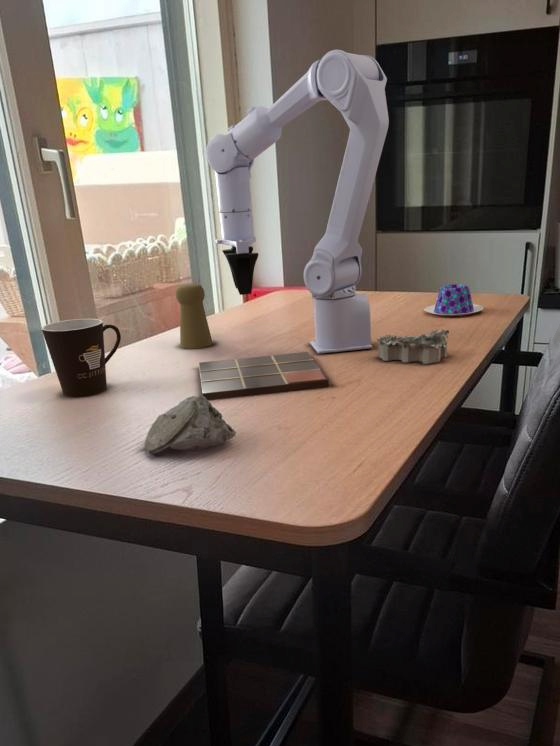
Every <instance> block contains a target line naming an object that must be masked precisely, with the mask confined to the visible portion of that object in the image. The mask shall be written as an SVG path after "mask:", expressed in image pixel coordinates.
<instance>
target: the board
mask: <svg viewBox="0 0 560 746" xmlns="http://www.w3.org/2000/svg"><path fill="white" fill-rule="evenodd" d="M198 367H199V376H200V385H201V392H202V397H205V398H206V399H207V400H208V401H209V400H218V399H219V400H220V399H226V398H227V399H228V398H236V397H246V396H254V395H265V394H273V393H283V392H291V391H301V390H310V389H311V390H312V389H319V388H329V387H330V384H329V379H328V378H327V376H326V375H325V374H324V372H323V371H322V369H321V368H320V367H319V365H318V364H317V363H316V361H315V359H314V358H313V357H312V356H311V355H310V353H309V352H308V351H302V352H291V353H281V354H280V353H279V354H270V355H261V356H252V357H250V356H249V357H242V358H241V357H240V358H236V357H235V358H230V359H222V360H211V361H201V362H198Z"/></svg>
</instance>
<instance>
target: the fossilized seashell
mask: <svg viewBox="0 0 560 746" xmlns="http://www.w3.org/2000/svg"><path fill="white" fill-rule="evenodd" d="M236 434H237V431H236V430H235V429H234V428H233V427H232V426H231V425H230V424H228V423H227V422H226V421H225V419H223V414H222V413H221V412H220V411H219V410H218V409H217V408H216V407H214V405H212V403H211V402H210V401H209V400H207V399H206V398H205V397H203V396H195V395H193V396H188V397H186V398H185V399H183V400H181V401H180V402H178V405H175V406H173V407H172V408H170V409H169V410H167V411H165V412H164V413H162V414H159V415H158V416H157V418H156V419H155V421H154V422H153V423H152V424H151V426H150V428H149V430H148V432H147V435H146V437H145V440H144V448H145V451H147V452H148V453H149V454H151V455H152V454H157V453H159V452H162V451H164V450H166V449H167V448H171V449H173V450H179V451H196V450H203V449H208V448H211V447H216V446H217V445H218V446H219V445H220V444H223V443H225V442H228V441H229V440H232V439H233V438H234V437H235V436H236Z"/></svg>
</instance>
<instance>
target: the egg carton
mask: <svg viewBox="0 0 560 746" xmlns="http://www.w3.org/2000/svg"><path fill="white" fill-rule="evenodd" d="M449 335H450V330H449V329H445V330H444V329H440V330H438V329H437V330H432V331H431V332H430V334H427V333H421V334H420V335H412V334H411V335H403V336H399V337H397V334H395V335H392V334H385V335H384V336H379V337H378V338H376V340H377V341H378V345H377V347H378V358H379V359H381V360H382V361H384V362H390V361H393V360H394V361H395V360H396V361H397V360H398V361H401V362H402V363H413V362H421V363H422V364H423V365H428V364H437V363H439V362H441V358H447V356H448V340H447V338H448V337H449Z"/></svg>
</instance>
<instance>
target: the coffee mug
mask: <svg viewBox="0 0 560 746" xmlns="http://www.w3.org/2000/svg"><path fill="white" fill-rule="evenodd" d="M103 322H104V321H103V320H102V319H100V318H99V319H98V318H76V319H75V318H74V319H65V320H60V321H56V322H51V323H47V324H45V325H43V326H41V327H40V328H41V329H40V330H41V332H42V335H43V338H44V341H45V343H46V347H47V350H48V353H49V356H50V359H51V361H52V364H53V367H54V370H55V373H56V377H57V379H58V382H59V385H60V387H61V388H60V389H61V391H62V394H63V396H64V397H68V398H83V397H90V396H94V395H99V394H102V393H103V392H105V391H106V390H107V389H108V383H107V368H106V364H107V363H109V361H110V360H111V358H112V357H113V356H114V354H115V353H116V352H117V350H118V348H119V345H120V344H121V340H122V334H121V332H120V329H119V328H118V327H117V326H116V325H114V324H105V325H104V323H103ZM108 329H112V330H113V331H114V332H115V335H116V340H115V343H114V345H113V348H112V349H111V350H110V352H109V353H108V354H107V355H106V353H105V352H106V351H105V337H104V332H105V331H106V330H108Z"/></svg>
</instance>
